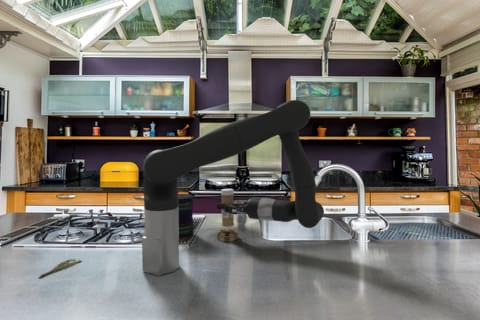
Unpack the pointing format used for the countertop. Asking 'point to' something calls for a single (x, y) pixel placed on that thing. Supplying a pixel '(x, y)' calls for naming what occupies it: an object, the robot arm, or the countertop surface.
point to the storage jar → (185, 215)
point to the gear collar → (222, 234)
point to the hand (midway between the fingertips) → (221, 204)
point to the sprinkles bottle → (228, 198)
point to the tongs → (61, 267)
